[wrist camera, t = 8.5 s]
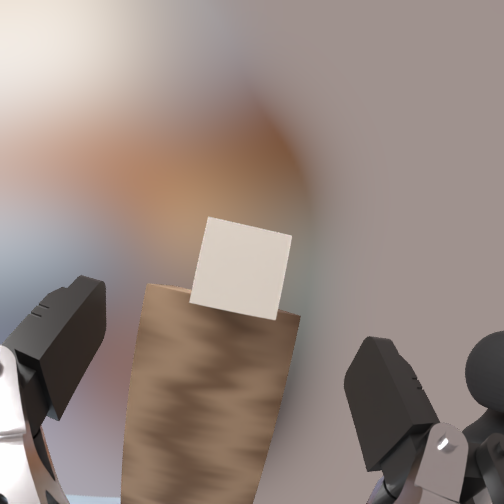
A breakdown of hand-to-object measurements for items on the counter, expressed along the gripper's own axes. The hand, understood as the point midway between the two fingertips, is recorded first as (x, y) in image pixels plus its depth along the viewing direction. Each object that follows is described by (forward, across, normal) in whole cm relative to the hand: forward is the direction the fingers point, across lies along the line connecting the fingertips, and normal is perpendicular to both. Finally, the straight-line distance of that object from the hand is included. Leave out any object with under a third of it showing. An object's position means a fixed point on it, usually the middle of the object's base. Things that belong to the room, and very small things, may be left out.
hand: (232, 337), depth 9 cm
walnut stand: (-2, 0, +35) cm, 35 cm away
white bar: (+10, 0, +5) cm, 11 cm away
